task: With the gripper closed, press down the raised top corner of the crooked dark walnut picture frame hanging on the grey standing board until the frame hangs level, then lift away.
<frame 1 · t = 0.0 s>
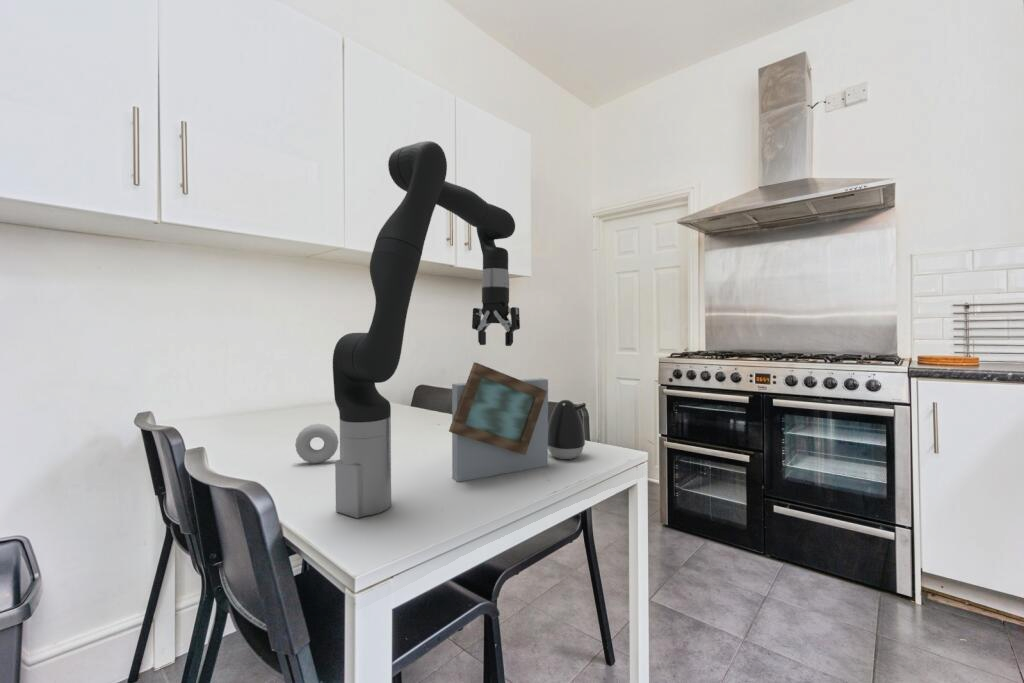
hand: (495, 345, 122), 29 cm above the table, tool pointing down, fingers open, 8 cm apart
wall board: (502, 471, 105), on the table
black electric kettle: (565, 457, 117), on the table
donut: (317, 464, 111), on the table
picture frame: (500, 410, 101), point 15 cm above the table, hinge at 22.0°
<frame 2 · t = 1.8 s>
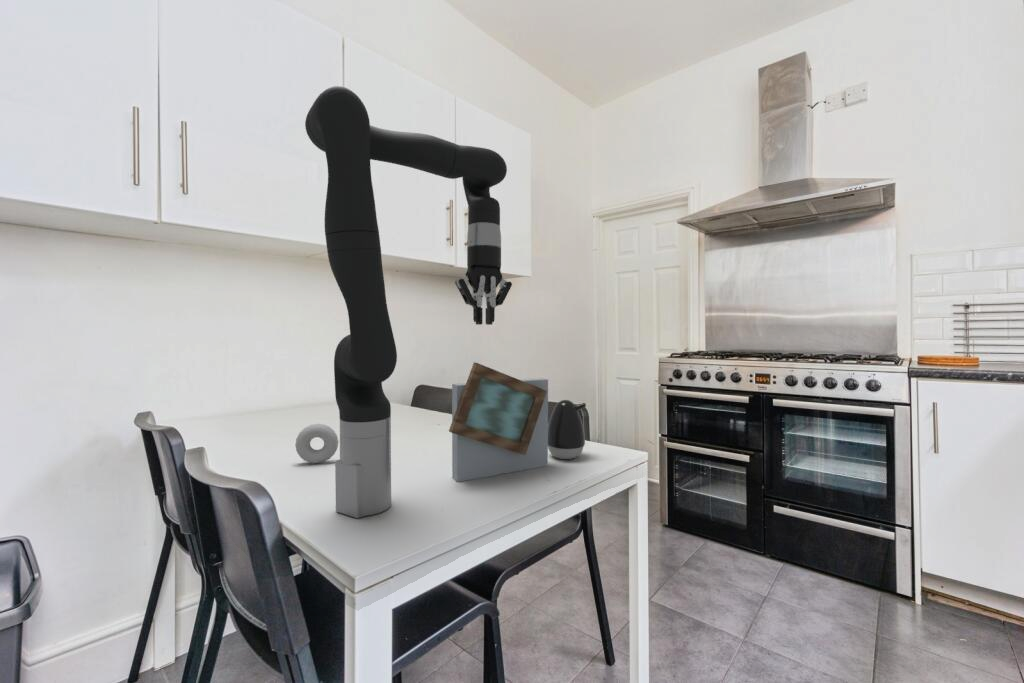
hand: (484, 324, 99), 35 cm above the table, tool pointing down, fingers closed
nothing on the table moved.
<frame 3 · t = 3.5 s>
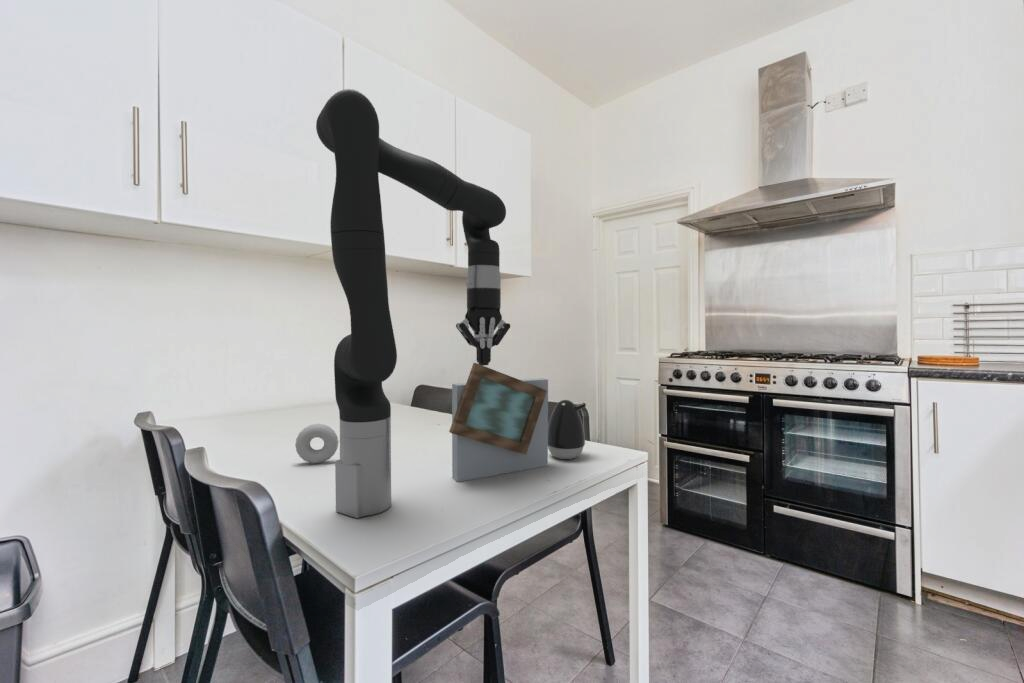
hand: (483, 364, 99), 26 cm above the table, tool pointing down, fingers closed
picture frame: (500, 410, 101), point 15 cm above the table, hinge at 21.3°, touching gripper
everything else where it was.
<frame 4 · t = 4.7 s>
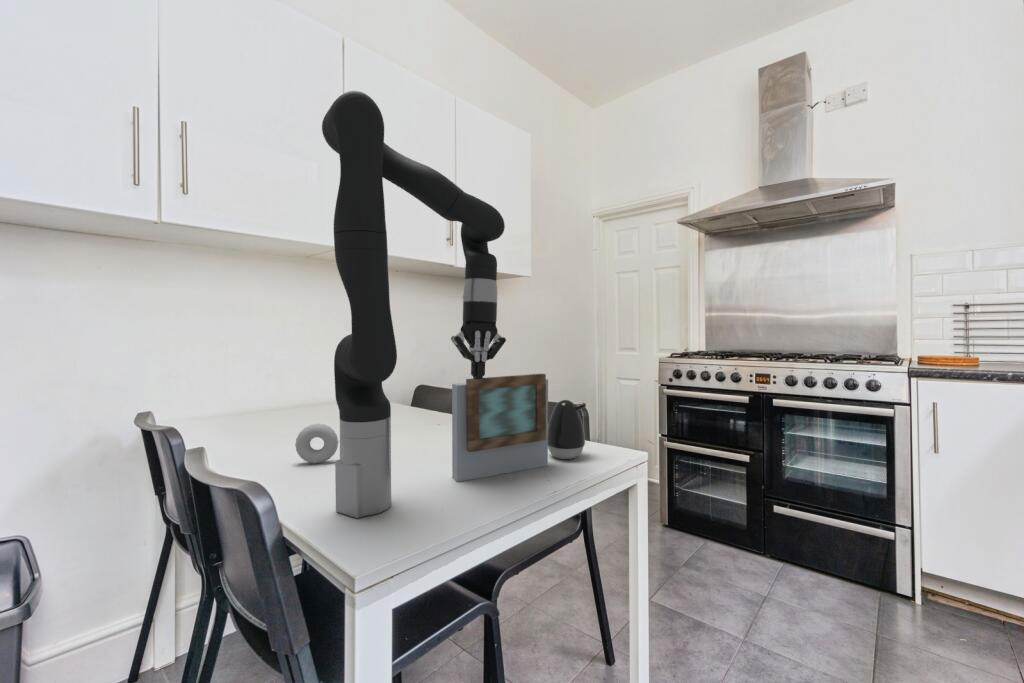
hand: (477, 378, 98), 23 cm above the table, tool pointing down, fingers closed
picture frame: (507, 410, 102), point 15 cm above the table, hinge at -0.7°, touching gripper
everything else where it was.
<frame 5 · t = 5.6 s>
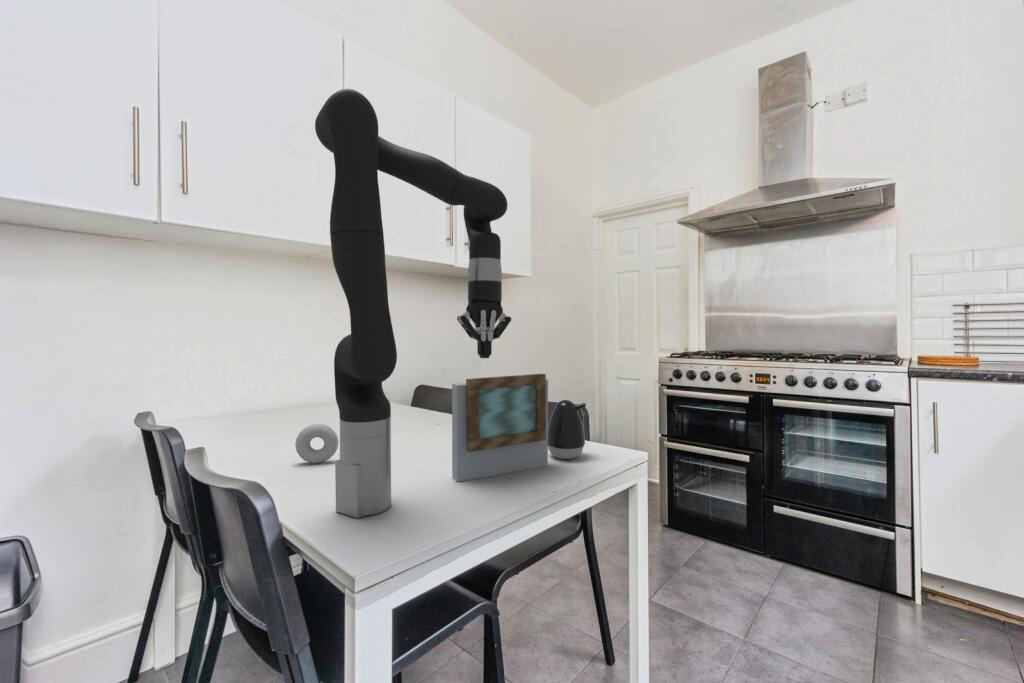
hand: (484, 357, 99), 27 cm above the table, tool pointing down, fingers closed
picture frame: (507, 410, 102), point 15 cm above the table, hinge at -0.6°
everything else where it was.
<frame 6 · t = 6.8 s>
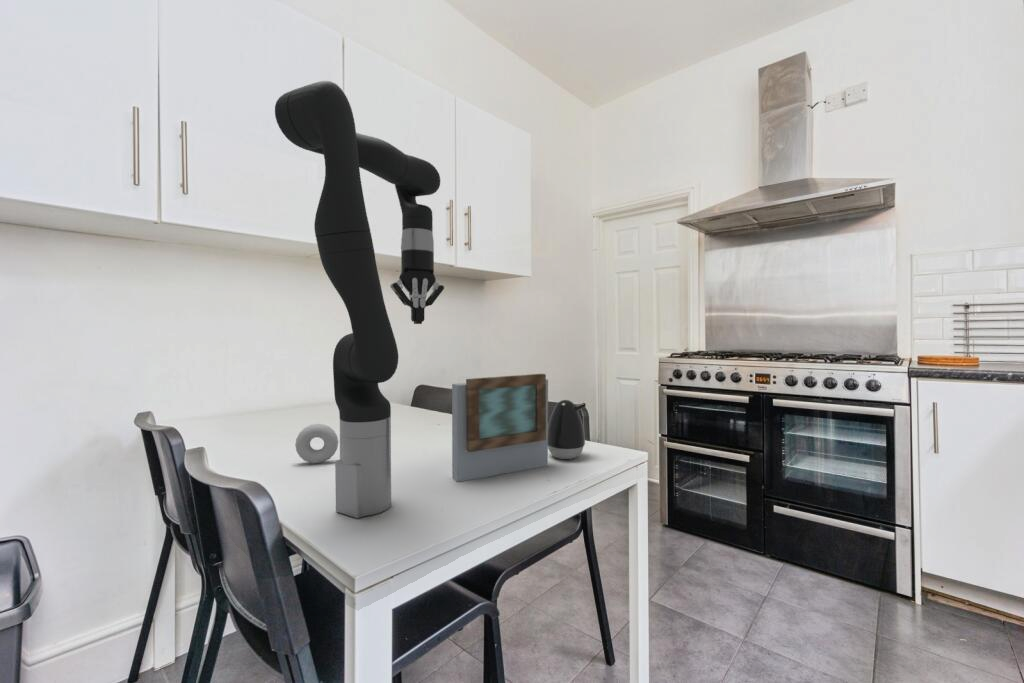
hand: (417, 323, 105), 35 cm above the table, tool pointing down, fingers closed
nothing on the table moved.
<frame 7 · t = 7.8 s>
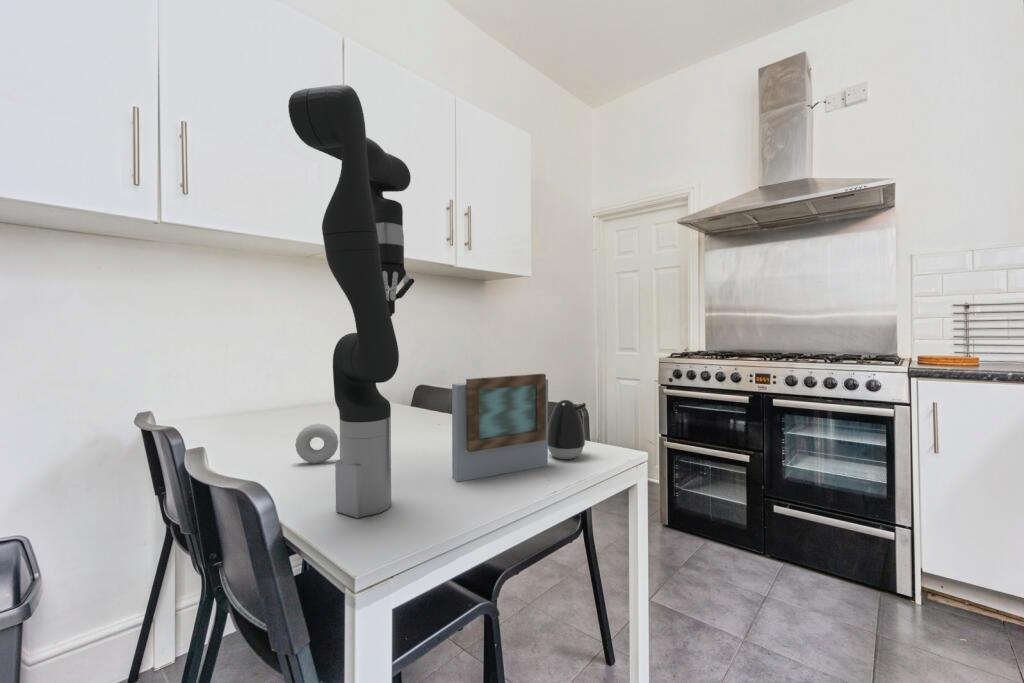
hand: (388, 316, 108), 37 cm above the table, tool pointing down, fingers closed
nothing on the table moved.
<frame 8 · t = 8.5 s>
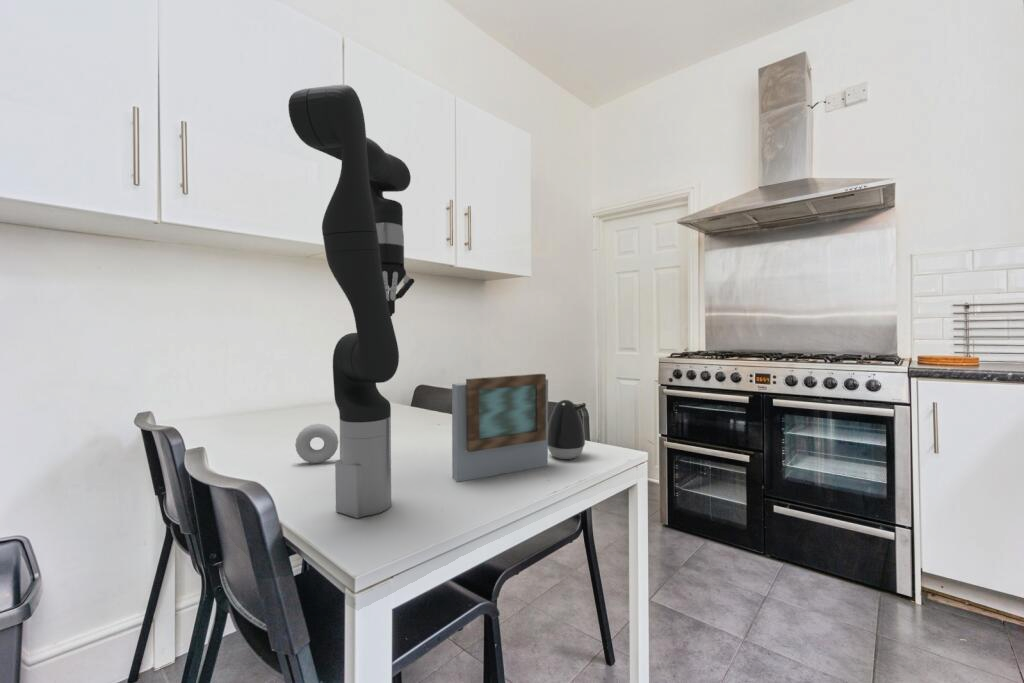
hand: (388, 316, 108), 37 cm above the table, tool pointing down, fingers closed
nothing on the table moved.
at the end: picture frame at -1° (first picture: +22°); black electric kettle moved 0.2 cm from its start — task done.
